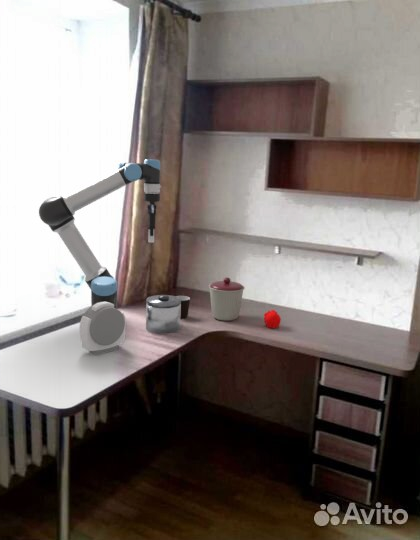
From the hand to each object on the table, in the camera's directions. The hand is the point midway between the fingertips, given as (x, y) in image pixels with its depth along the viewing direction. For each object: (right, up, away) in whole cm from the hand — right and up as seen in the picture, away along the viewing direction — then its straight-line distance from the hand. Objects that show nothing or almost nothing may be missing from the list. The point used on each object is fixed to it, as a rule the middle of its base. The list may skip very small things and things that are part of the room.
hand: (151, 242), depth 242 cm
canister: (+36, -38, +14) cm, 54 cm away
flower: (+59, -41, +3) cm, 72 cm away
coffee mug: (+14, -37, +14) cm, 42 cm away
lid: (+7, -29, -8) cm, 30 cm away
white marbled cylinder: (+6, -41, -5) cm, 42 cm away
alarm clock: (-15, -47, -35) cm, 60 cm away
